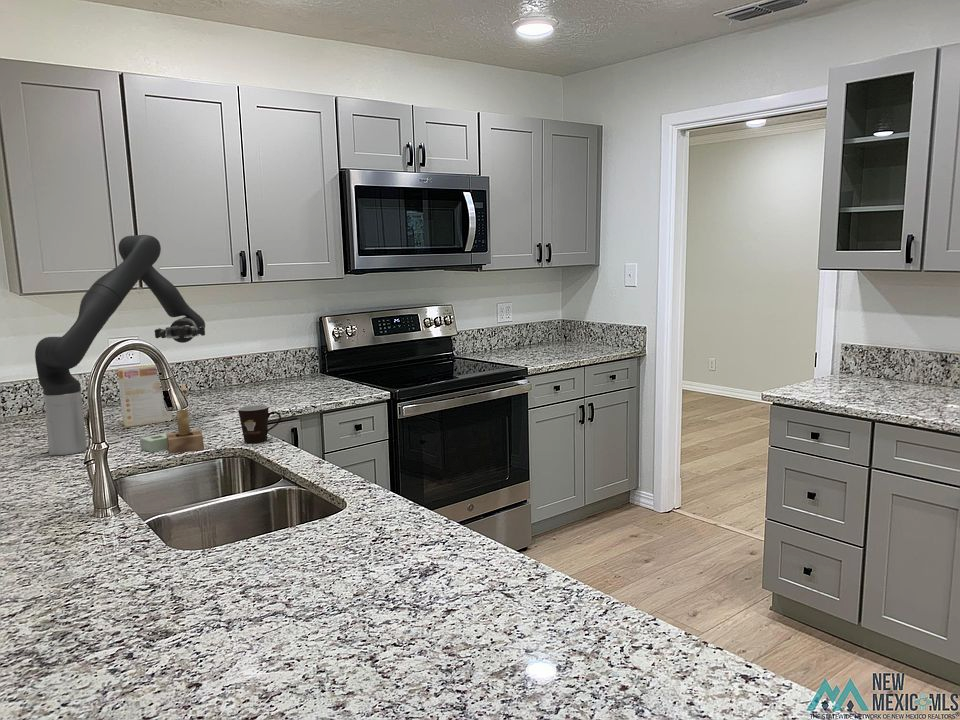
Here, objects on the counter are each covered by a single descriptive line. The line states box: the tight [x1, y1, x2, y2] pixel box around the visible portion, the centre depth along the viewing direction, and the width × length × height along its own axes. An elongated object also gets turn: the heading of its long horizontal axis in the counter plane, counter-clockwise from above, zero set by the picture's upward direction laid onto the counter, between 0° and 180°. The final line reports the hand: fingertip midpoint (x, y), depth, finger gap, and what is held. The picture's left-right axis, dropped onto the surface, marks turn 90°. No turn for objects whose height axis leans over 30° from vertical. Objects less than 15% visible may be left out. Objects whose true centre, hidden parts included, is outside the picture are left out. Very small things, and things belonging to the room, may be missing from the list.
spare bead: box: [139, 432, 168, 453], centre depth 207 cm, size 7×7×3 cm
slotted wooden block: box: [165, 429, 205, 455], centre depth 205 cm, size 9×9×4 cm
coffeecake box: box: [117, 364, 174, 428], centre depth 243 cm, size 15×7×20 cm, turn 123°
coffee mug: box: [237, 404, 282, 445], centre depth 210 cm, size 12×9×10 cm
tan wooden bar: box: [176, 385, 191, 437], centre depth 204 cm, size 3×3×18 cm
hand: (178, 333), depth 215 cm, fingers open, 8 cm apart
